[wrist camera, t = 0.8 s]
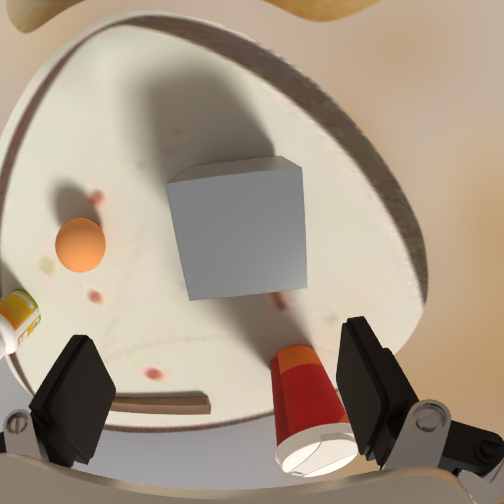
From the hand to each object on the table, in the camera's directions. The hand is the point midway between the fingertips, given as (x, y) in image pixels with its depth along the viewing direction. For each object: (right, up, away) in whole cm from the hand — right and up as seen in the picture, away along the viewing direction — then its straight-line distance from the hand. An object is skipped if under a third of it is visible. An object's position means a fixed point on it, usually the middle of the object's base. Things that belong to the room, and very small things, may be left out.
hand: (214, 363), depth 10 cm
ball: (-14, +5, +14) cm, 20 cm away
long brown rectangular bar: (-12, -15, +25) cm, 32 cm away
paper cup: (+6, -9, +23) cm, 25 cm away
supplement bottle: (-27, -3, +19) cm, 34 cm away
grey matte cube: (0, +8, +16) cm, 18 cm away
